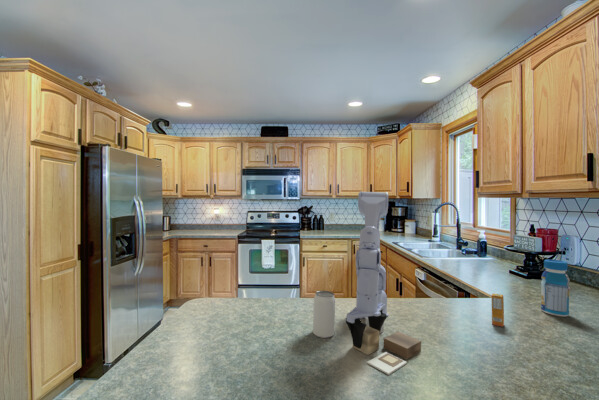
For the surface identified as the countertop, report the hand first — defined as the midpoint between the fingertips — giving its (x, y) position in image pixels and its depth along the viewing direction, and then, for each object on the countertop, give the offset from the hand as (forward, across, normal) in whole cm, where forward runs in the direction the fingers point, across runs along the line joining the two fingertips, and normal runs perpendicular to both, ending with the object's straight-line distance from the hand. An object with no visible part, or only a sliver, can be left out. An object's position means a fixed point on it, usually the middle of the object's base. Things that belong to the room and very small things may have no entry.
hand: (365, 342), depth 78 cm
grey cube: (+2, +11, +5) cm, 12 cm away
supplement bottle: (+2, +82, -27) cm, 86 cm away
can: (+2, -3, +13) cm, 14 cm away
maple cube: (+2, 0, 0) cm, 2 cm away
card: (+1, -2, -8) cm, 8 cm away
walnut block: (+2, +8, -6) cm, 10 cm away
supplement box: (+2, +50, -17) cm, 53 cm away
